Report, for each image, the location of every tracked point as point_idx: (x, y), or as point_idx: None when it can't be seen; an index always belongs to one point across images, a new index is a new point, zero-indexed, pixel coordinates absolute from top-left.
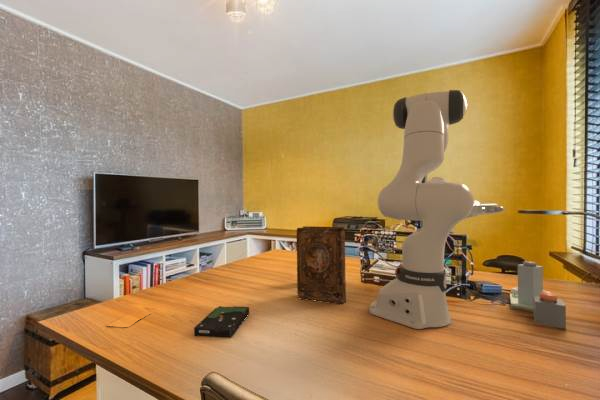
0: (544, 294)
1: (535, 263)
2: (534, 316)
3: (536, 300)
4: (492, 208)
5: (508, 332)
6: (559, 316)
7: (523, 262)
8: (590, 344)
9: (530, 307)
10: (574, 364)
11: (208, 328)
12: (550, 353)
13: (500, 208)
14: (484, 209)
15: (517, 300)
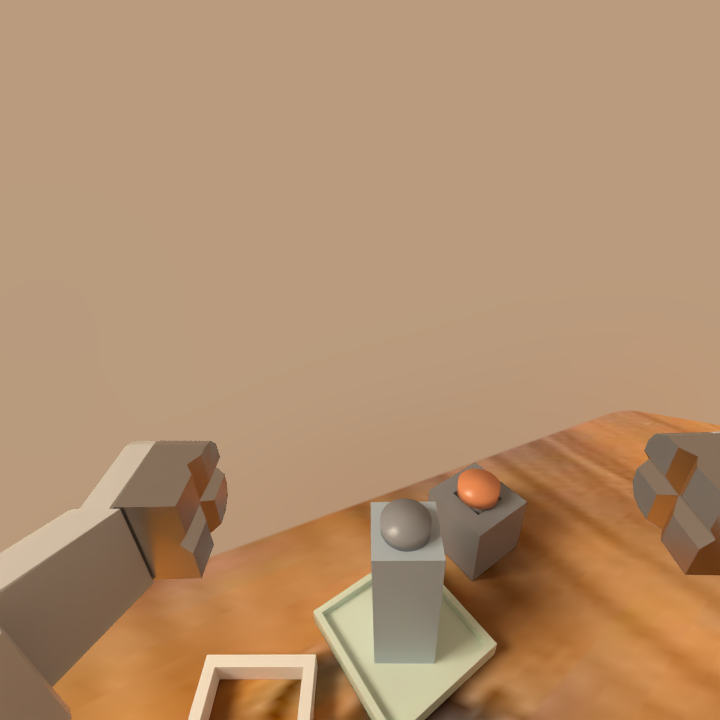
0: (491, 486)
1: (403, 499)
2: (498, 555)
3: (517, 504)
4: (3, 715)
5: (639, 538)
6: None
7: (426, 535)
8: (490, 461)
9: (451, 596)
10: (588, 440)
11: None
12: (603, 465)
13: (217, 460)
14: (664, 447)
15: (415, 681)
